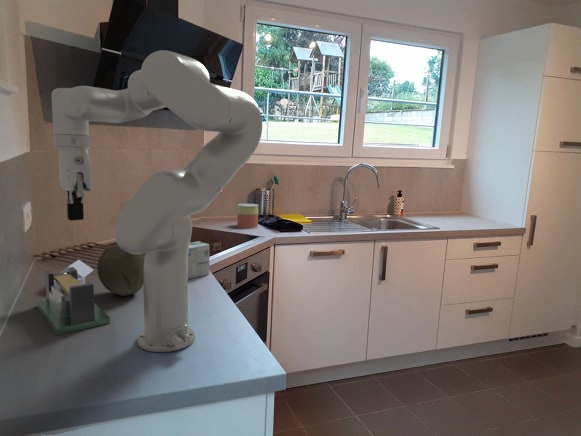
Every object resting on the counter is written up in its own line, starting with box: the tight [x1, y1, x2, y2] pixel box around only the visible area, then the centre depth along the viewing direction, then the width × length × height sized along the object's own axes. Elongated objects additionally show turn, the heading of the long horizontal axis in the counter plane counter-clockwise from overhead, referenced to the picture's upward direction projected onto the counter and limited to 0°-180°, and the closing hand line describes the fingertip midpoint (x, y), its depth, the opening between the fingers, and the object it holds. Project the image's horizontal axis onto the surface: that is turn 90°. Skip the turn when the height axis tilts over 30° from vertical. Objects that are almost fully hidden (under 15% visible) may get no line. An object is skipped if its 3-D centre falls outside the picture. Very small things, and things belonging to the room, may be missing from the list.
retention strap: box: [53, 272, 82, 296], centre depth 114 cm, size 19×4×2 cm, turn 40°
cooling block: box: [35, 267, 111, 336], centre depth 114 cm, size 22×12×10 cm, turn 40°
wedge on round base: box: [54, 259, 94, 290], centre depth 136 cm, size 9×7×13 cm
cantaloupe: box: [96, 243, 145, 297], centre depth 130 cm, size 14×14×15 cm
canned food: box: [236, 203, 259, 230], centre depth 243 cm, size 11×11×12 cm
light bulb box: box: [188, 240, 210, 280], centre depth 151 cm, size 11×7×11 cm, turn 134°
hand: (75, 219), depth 108 cm, fingers closed
